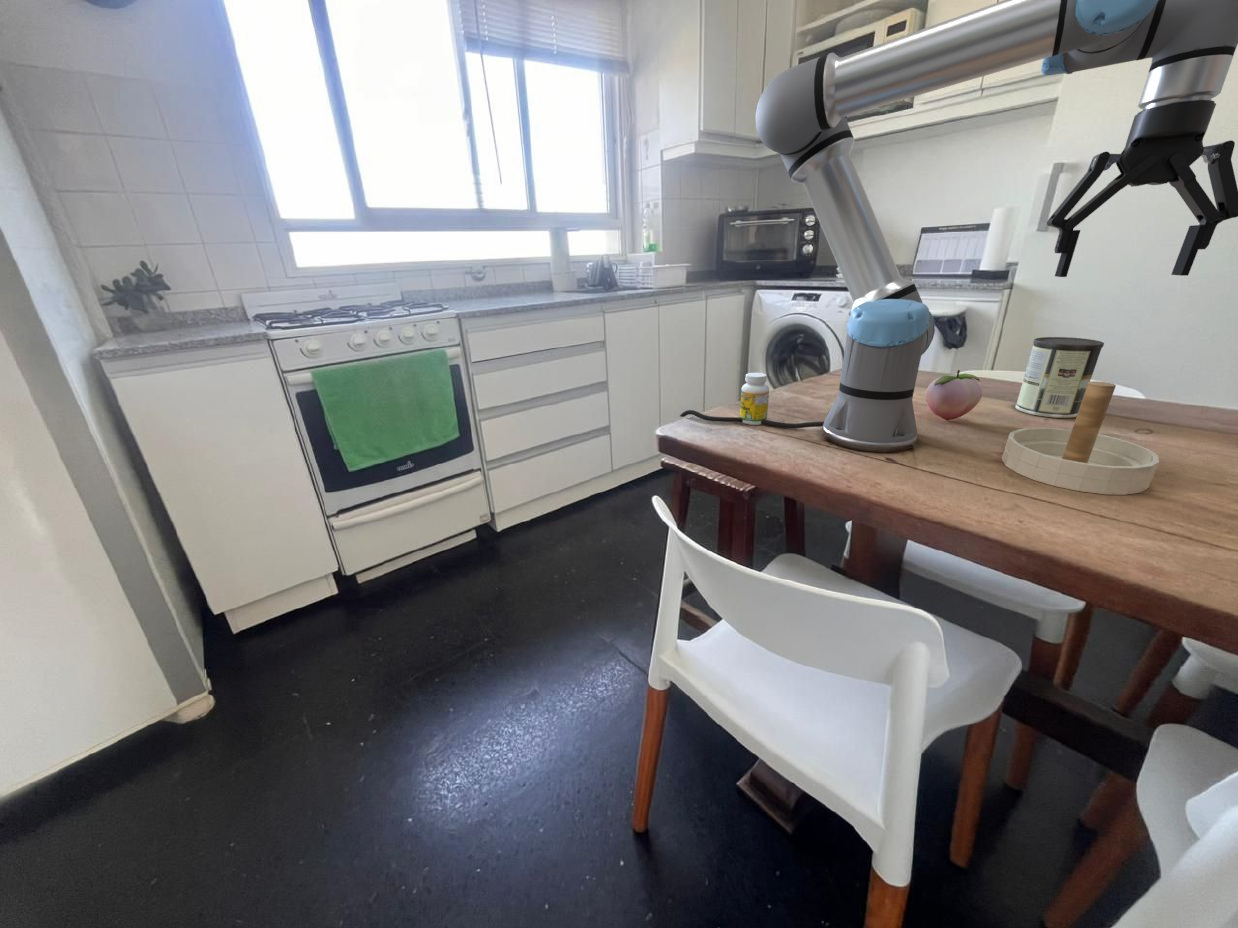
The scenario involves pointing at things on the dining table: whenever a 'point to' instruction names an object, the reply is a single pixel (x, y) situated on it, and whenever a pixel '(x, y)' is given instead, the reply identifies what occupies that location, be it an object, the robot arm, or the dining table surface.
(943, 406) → the decorative fruit
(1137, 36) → the robot arm
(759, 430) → the dining table surface
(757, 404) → the supplement bottle
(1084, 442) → the muddler
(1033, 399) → the coffee can
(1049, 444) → the bowl
